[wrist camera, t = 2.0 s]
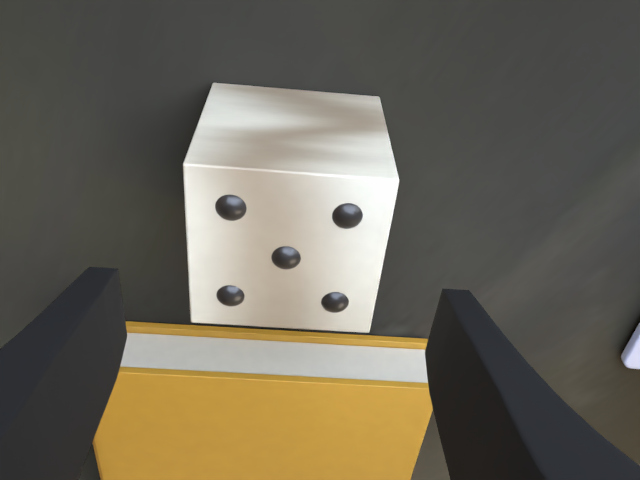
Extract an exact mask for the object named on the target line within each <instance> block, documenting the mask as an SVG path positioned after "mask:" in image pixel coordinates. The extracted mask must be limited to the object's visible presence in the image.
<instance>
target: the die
mask: <svg viewBox="0 0 640 480" xmlns="http://www.w3.org/2000/svg"><path fill="white" fill-rule="evenodd" d="M183 180H184V199H185V219H186V239H187V259H188V279H189V298H190V318H191V322H192V323H208V324H225V325H242V326H259V327H276V328H293V329H310V330H328V331H345V332H362V333H369V331H370V327H371V322H372V317H373V312H374V307H375V302H376V297H377V292H378V287H379V282H380V277H381V272H382V267H383V262H384V257H385V252H386V247H387V241H388V236H389V231H390V226H391V221H392V216H393V211H394V206H395V201H396V196H397V191H398V186H399V177H398V173H397V169H396V164H395V160H394V156H393V152H392V148H391V143H390V139H389V135H388V131H387V126H386V122H385V118H384V114H383V110H382V105H381V101H380V97H377V96H365V95H354V94H342V93H330V92H318V91H306V90H294V89H282V88H270V87H259V86H247V85H235V84H223V83H213V84H212V86H211V89H210V92H209V95H208V97H207V100H206V103H205V105H204V108H203V111H202V114H201V116H200V119H199V122H198V125H197V127H196V130H195V133H194V135H193V138H192V141H191V144H190V146H189V149H188V152H187V154H186V157H185V160H184V163H183Z"/></svg>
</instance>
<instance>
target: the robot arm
mask: <svg viewBox="0 0 640 480" xmlns="http://www.w3.org/2000/svg"><path fill="white" fill-rule="evenodd" d="M126 340H127V329H126V322H125V315H124V308H123V301H122V294H121V287H120V279H119V272H118V269H113V268H97V267H89V268H88V269H87V270H85V271H84V272H83V273H82V274H81V275H80V276H79V277H78V278H77V279H76V280H75V281H74V282H73V283H72V284H71V285H70V286H69V287H68V288H67V289H66V290H65V291H64V292H63V293H62V294H61V295H60V296H59V297H57V298H56V299H55V300H54V301H53V302H52V303H51V304H50V305H49V306H48V307H47V308H46V309H45V310H44V311H43V312H42V313H41V314H39V315H38V316H37V317H36V318H35V319H34V320H33V321H32V322H31V323H30V324H29V325H27V326H26V327H25V328H24V329H23V330H22V331H21V332H20V333H19V334H17V335H16V336H15V337H14V338H13V339H12V340H10V341H9V342H8V343H7V344H6V345H4V346H3V347H2V348H1V349H0V480H78V479H79V476H80V473H81V470H82V467H83V465H84V462H85V460H86V457H87V455H88V452H89V449H90V447H91V444H92V442H93V439H94V437H95V434H96V431H97V429H98V426H99V424H100V421H101V419H102V416H103V414H104V411H105V408H106V406H107V403H108V401H109V398H110V395H111V393H112V390H113V387H114V385H115V382H116V379H117V376H118V373H119V369H120V365H121V361H122V357H123V353H124V348H125V344H126ZM621 359H622V361H623V363H624V365H625V366H626V367H627V368H631V369H640V323H639V324H638V326H637V328H636V330H635V331H634V333H633V335H632V337H631V339H630V340H629V342H628V344H627V346H626V347H625V349H624V351H623V353H622V355H621ZM425 360H426V369H427V378H428V386H429V394H430V398H431V402H432V406H433V411H434V415H435V419H436V423H437V427H438V431H439V435H440V439H441V443H442V447H443V451H444V455H445V459H446V463H447V467H448V471H449V475H450V479H451V480H640V466H639V465H638V464H636V463H635V462H634V461H633V460H631V459H630V458H629V457H628V456H626V455H625V454H624V453H623V452H621V451H620V450H619V449H618V448H616V447H615V446H614V445H613V444H611V443H610V442H609V441H608V440H606V439H605V438H604V437H603V436H602V435H601V434H599V433H598V432H597V431H596V430H595V429H594V428H592V427H591V426H590V425H589V424H588V423H587V422H586V421H585V420H584V419H583V418H582V417H580V416H579V415H578V414H577V413H576V412H575V411H574V410H573V409H572V408H571V407H570V406H568V405H567V404H566V403H565V402H564V401H563V400H562V399H561V398H560V397H559V396H558V395H557V394H556V393H555V392H554V391H553V389H552V388H551V387H550V386H549V385H548V384H547V383H546V382H545V381H544V380H543V379H542V378H541V377H540V376H539V375H538V374H537V373H536V371H535V370H534V369H533V368H532V367H531V366H530V365H529V364H528V363H527V361H526V360H525V359H524V358H523V357H522V355H521V354H520V353H519V352H518V351H517V350H516V348H515V347H514V346H513V345H512V344H511V342H510V341H509V340H508V339H507V338H506V336H505V335H504V334H503V333H502V331H501V330H500V329H499V328H498V326H497V325H496V324H495V323H494V321H493V320H492V319H491V318H490V316H489V315H488V314H487V312H486V311H485V310H484V309H483V307H482V306H481V305H480V303H479V302H478V301H477V300H476V298H475V297H474V296H473V295H472V293H471V292H470V291H469V290H454V289H442V293H441V296H440V300H439V303H438V307H437V310H436V314H435V317H434V321H433V325H432V328H431V332H430V335H429V339H428V342H427V346H426V349H425Z"/></svg>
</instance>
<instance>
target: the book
mask: <svg viewBox="0 0 640 480" xmlns="http://www.w3.org/2000/svg"><path fill="white" fill-rule="evenodd" d="M125 322H126V329H127V340H126V344H125V348H124V353H123V357H122V361H121V365H120V369H119V373H118V376H117V379H116V382H115V385H114V387H113V390H112V393H111V395H110V398H109V401H108V403H107V406H106V408H105V411H104V414H103V416H102V419H101V421H100V424H99V426H98V429H97V431H96V434H95V437H94V439H93V442H92V443H93V447H94V452H95V456H96V461H97V465H98V470H99V474H100V479H101V480H410V479H411V476H412V472H413V469H414V466H415V463H416V460H417V457H418V454H419V451H420V447H421V444H422V441H423V438H424V435H425V432H426V429H427V426H428V422H429V419H430V416H431V413H432V410H433V406H432V402H431V398H430V394H429V386H428V378H427V369H426V360H425V349H426V346H427V342H428V339H424V338H407V337H390V336H372V335H355V334H338V333H321V332H304V331H287V330H269V329H252V328H235V327H218V326H201V325H184V324H167V323H149V322H132V321H125Z"/></svg>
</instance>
